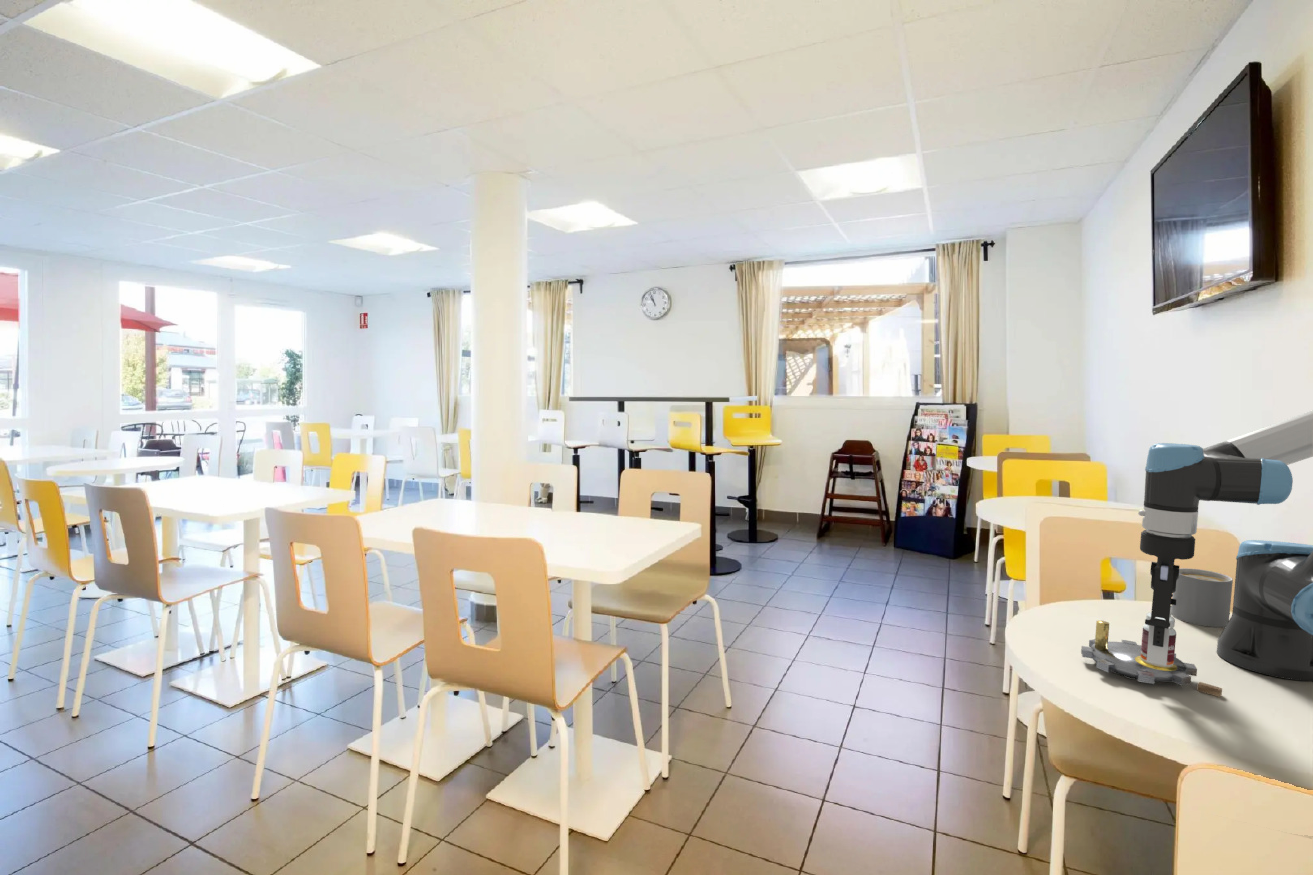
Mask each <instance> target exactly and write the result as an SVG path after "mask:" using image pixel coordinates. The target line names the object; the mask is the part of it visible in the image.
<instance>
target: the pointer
mask: <svg viewBox="0 0 1313 875" xmlns="http://www.w3.org/2000/svg"><path fill="white" fill-rule="evenodd" d="M1196 691H1198V692H1202V693H1204V694H1209V695H1211V696H1215V697H1216V698H1217V697H1218V698H1220V697H1222V695H1223V688H1222V687H1219V686H1217V685H1212V684H1209V683H1206V682H1202V681H1198V683H1197V690H1196Z"/></svg>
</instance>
